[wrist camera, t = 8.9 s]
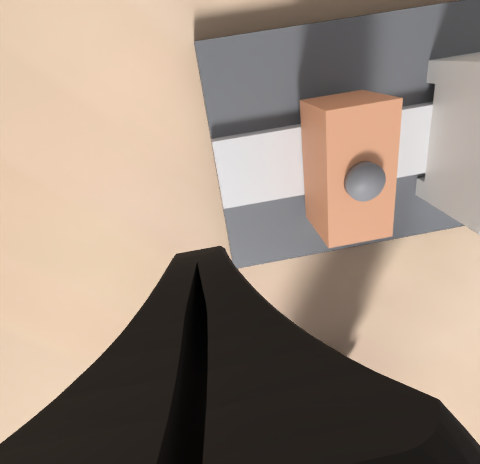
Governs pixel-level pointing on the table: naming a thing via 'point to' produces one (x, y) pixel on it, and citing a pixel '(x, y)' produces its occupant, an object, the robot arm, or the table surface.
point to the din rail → (310, 86)
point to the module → (454, 140)
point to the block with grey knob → (351, 164)
